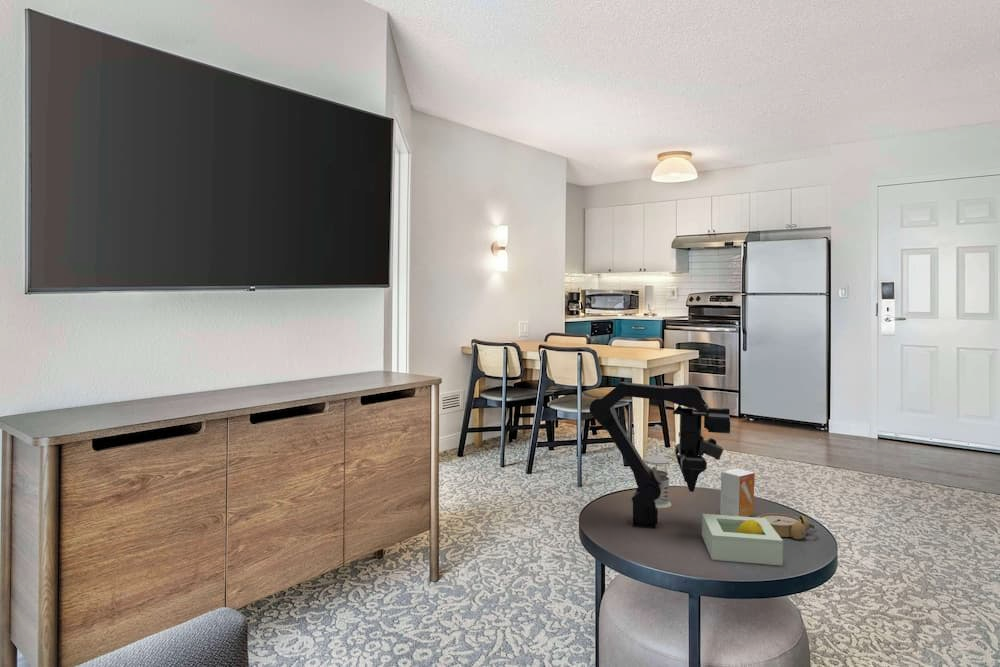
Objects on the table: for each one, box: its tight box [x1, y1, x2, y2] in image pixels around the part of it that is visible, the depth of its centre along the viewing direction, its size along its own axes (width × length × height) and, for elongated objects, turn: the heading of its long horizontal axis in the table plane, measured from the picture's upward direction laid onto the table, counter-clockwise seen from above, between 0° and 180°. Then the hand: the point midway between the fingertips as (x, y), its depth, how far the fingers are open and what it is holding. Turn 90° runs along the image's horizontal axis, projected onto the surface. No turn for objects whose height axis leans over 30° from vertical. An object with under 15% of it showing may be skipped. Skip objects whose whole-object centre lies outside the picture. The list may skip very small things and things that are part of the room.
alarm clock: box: [756, 513, 818, 540], centre depth 161 cm, size 11×5×15 cm
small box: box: [719, 467, 755, 517], centre depth 175 cm, size 8×6×13 cm
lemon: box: [736, 520, 763, 535], centre depth 146 cm, size 6×6×8 cm
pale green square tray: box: [701, 513, 784, 567], centre depth 148 cm, size 16×16×6 cm
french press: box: [643, 424, 672, 509], centre depth 185 cm, size 10×12×25 cm
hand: (689, 486), depth 162 cm, fingers open, 9 cm apart
